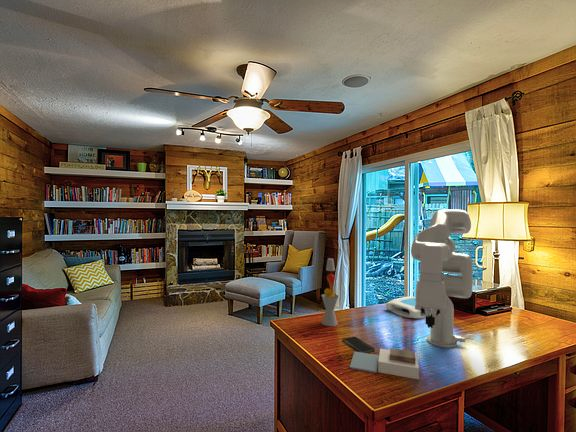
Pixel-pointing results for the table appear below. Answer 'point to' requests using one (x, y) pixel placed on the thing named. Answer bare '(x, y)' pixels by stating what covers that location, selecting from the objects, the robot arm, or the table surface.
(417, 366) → the riser
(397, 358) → the walnut tile
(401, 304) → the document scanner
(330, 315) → the lava lamp
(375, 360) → the mat
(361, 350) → the phone
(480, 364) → the table surface
